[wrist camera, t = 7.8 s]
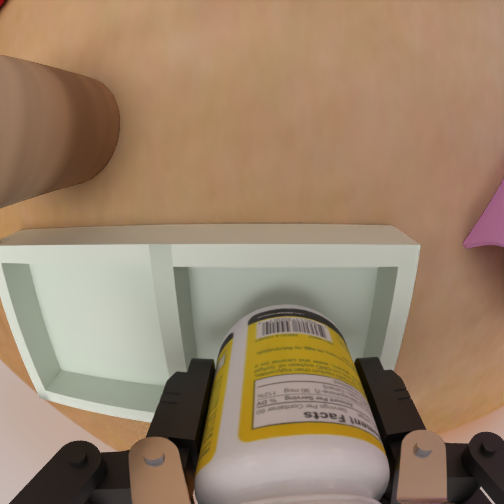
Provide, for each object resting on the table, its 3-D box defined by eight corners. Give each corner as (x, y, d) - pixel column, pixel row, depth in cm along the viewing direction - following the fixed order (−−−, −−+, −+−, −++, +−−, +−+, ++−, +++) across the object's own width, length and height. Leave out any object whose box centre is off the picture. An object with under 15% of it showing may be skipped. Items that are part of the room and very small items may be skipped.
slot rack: (392, 225, 13) (420, 245, 10) (364, 387, 16) (376, 423, 13) (22, 229, 14) (-13, 245, 11) (61, 370, 16) (40, 397, 14)
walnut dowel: (120, 67, 11) (-12, 16, 4) (122, 179, 13) (-16, 228, 5) (34, 90, 11) (-96, 83, 4) (36, 188, 13) (-92, 235, 5)
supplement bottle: (268, 414, 13) (266, 596, 5) (193, 344, 12) (128, 558, 4) (366, 360, 12) (434, 553, 4) (301, 273, 11) (358, 530, 3)
